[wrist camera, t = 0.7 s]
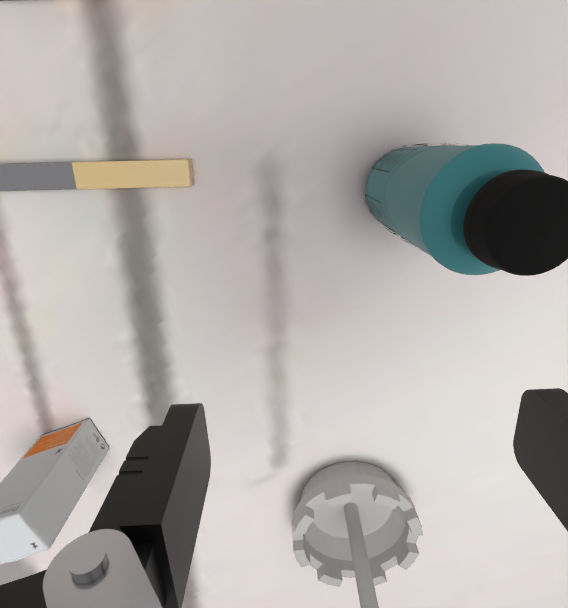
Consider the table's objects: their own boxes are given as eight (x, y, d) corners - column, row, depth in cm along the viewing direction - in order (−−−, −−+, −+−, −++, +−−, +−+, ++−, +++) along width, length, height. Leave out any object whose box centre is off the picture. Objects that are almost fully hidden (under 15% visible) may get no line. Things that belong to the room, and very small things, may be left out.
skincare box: (89, 415, 42) (19, 512, 31) (111, 447, 44) (51, 551, 32) (38, 434, 43) (-47, 535, 32) (61, 464, 44) (-14, 571, 33)
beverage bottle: (361, 229, 36) (449, 320, 17) (358, 147, 33) (458, 147, 15) (437, 222, 35) (612, 306, 17) (440, 139, 33) (648, 128, 14)
